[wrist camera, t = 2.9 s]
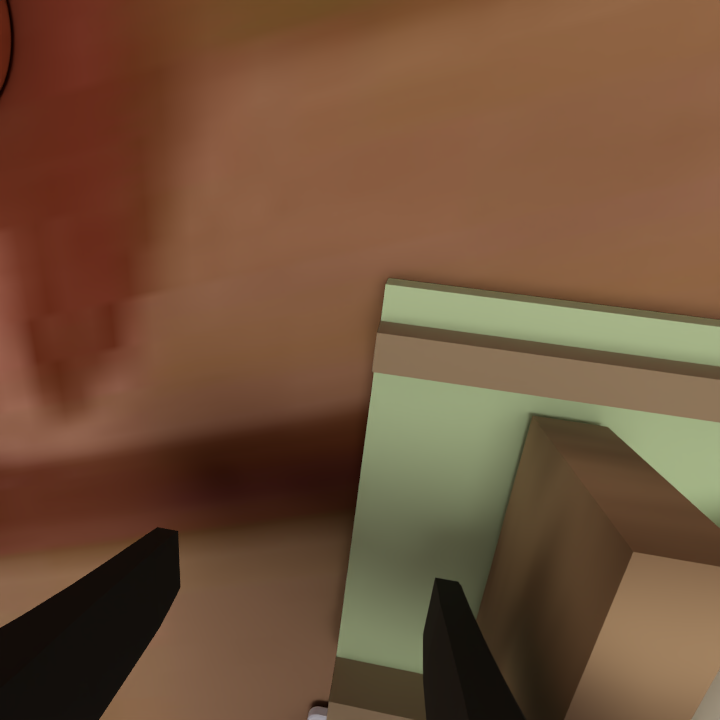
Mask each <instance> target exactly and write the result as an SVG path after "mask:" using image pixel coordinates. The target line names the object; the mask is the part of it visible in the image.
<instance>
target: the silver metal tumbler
mask: <svg viewBox="0 0 720 720" xmlns="http://www.w3.org/2000/svg"><path fill="white" fill-rule="evenodd" d="M10 55H11V25H10V18H9V12H8V7H7V2H6V0H0V91H1V89H2V86H3V84H4V81H5V79H6V75H7V72H8V68H9V62H10Z"/></svg>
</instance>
